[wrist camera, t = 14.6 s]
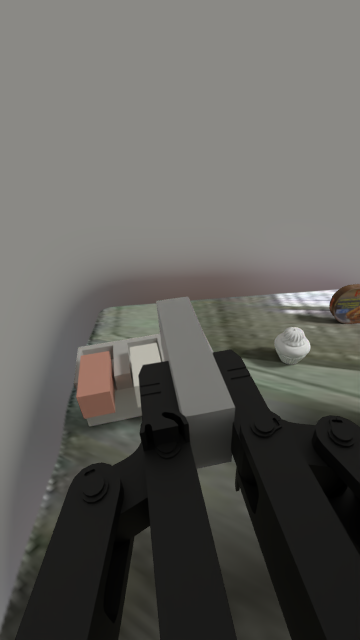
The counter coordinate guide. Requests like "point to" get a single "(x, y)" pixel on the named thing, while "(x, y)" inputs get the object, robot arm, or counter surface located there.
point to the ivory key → (142, 362)
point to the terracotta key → (96, 385)
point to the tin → (346, 304)
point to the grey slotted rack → (120, 375)
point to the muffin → (292, 345)
